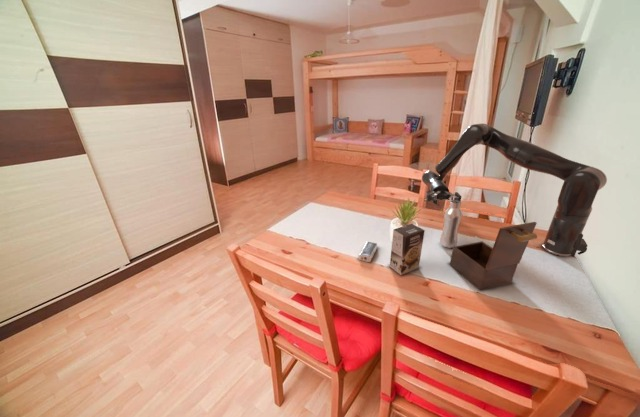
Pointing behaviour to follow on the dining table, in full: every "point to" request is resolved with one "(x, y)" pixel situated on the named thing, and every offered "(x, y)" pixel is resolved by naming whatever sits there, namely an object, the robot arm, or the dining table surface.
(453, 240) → the silver metal bottle
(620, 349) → the dining table surface
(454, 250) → the chest
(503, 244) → the lid
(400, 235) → the coffee box
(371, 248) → the multiport hub
